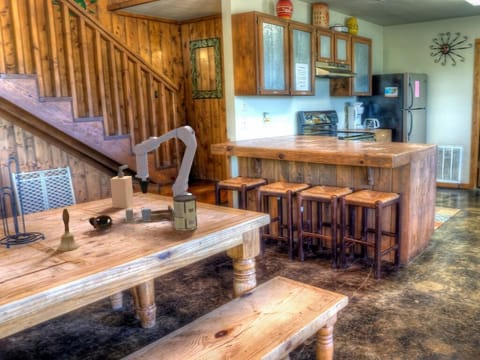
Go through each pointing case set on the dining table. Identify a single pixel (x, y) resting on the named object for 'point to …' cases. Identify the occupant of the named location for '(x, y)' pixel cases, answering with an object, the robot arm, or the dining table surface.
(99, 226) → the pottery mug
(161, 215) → the walnut lane
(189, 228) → the coffee can
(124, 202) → the soap dispenser
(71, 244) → the hand bell
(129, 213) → the tethered block
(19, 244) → the dining table surface
